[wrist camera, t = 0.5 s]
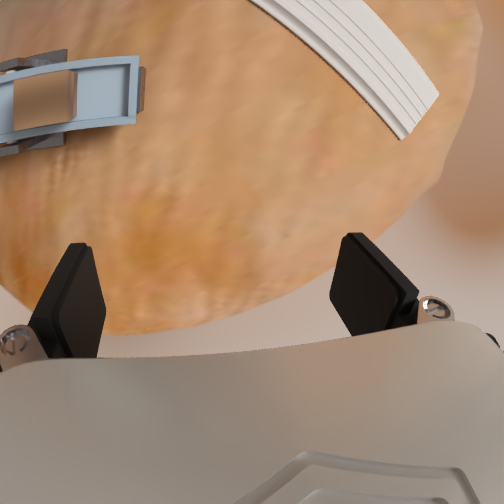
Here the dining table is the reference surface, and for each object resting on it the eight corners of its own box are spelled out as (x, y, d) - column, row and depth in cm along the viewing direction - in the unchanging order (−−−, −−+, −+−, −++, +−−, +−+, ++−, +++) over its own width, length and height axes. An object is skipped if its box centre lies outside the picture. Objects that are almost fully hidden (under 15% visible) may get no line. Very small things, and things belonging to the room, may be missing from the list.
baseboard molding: (392, 145, 40) (433, 92, 36) (404, 150, 38) (445, 95, 34) (221, -5, 26) (281, -58, 23) (224, -12, 24) (289, -67, 20)
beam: (-79, 103, 14) (-91, 106, 12) (138, 54, 25) (140, 51, 23) (-75, 166, 18) (-86, 173, 16) (134, 124, 29) (136, 127, 27)
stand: (-38, 79, 21) (-72, 85, 14) (148, 40, 27) (138, 28, 20) (-35, 160, 27) (-67, 179, 20) (143, 138, 33) (131, 152, 26)
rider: (32, 81, 20) (13, 80, 16) (77, 73, 22) (68, 69, 18) (32, 123, 23) (14, 131, 18) (76, 115, 25) (67, 121, 20)
